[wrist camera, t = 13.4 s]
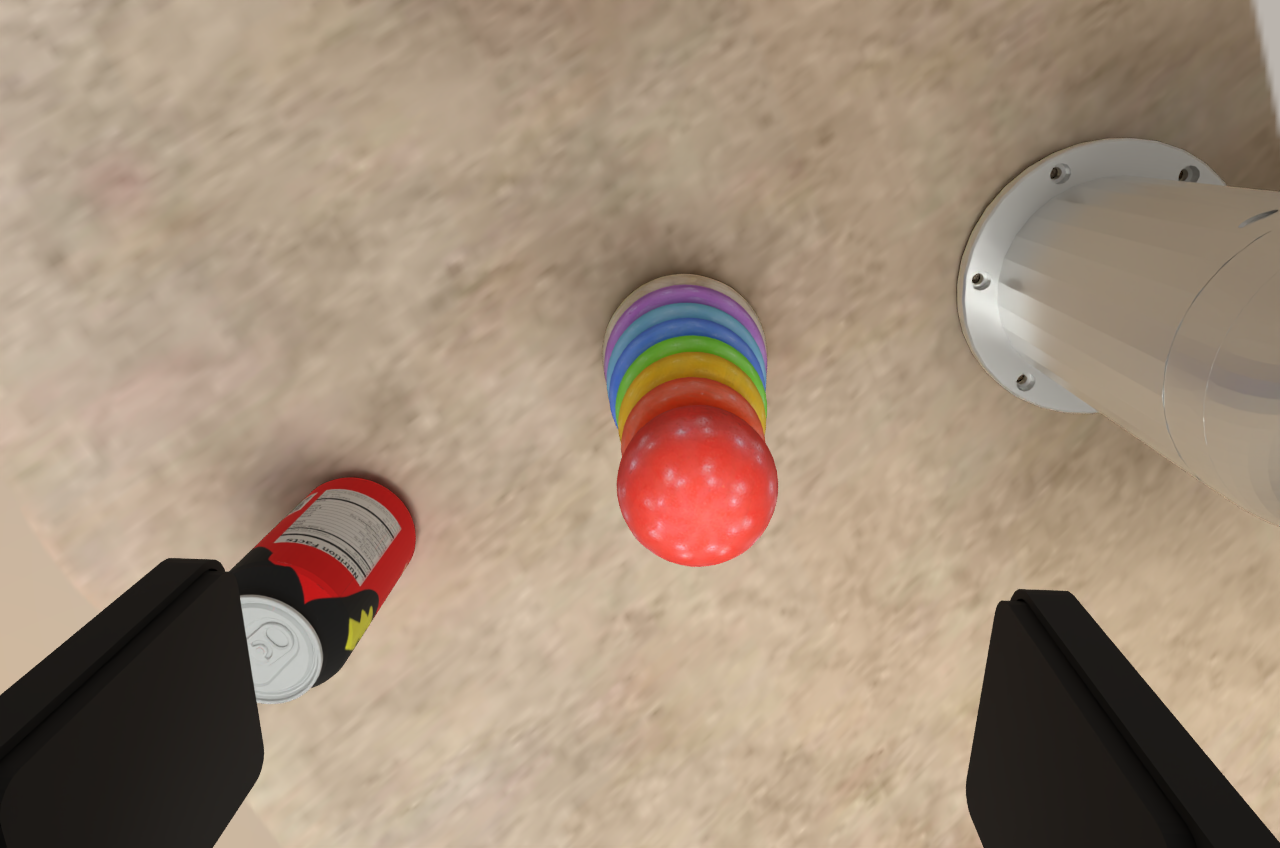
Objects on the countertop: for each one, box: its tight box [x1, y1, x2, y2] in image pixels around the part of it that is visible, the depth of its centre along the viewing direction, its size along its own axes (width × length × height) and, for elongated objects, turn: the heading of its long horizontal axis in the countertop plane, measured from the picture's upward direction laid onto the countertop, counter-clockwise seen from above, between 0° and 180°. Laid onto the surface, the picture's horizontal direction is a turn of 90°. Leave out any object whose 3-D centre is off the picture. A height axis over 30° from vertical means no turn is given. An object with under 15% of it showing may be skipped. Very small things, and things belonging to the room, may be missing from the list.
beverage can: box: [229, 477, 416, 704], centre depth 41 cm, size 6×6×12 cm
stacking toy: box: [602, 274, 778, 567], centre depth 33 cm, size 8×8×19 cm
